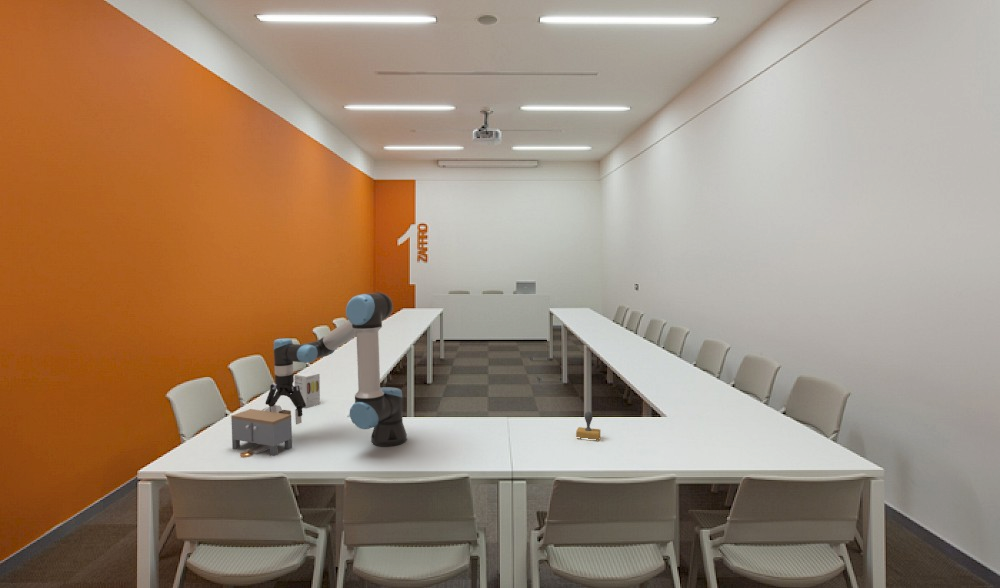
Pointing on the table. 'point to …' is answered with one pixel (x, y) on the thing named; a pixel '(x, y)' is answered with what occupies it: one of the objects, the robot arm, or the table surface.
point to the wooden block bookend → (262, 447)
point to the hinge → (269, 409)
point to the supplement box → (309, 387)
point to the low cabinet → (262, 429)
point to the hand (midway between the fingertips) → (286, 422)
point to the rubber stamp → (588, 429)
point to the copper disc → (246, 454)
